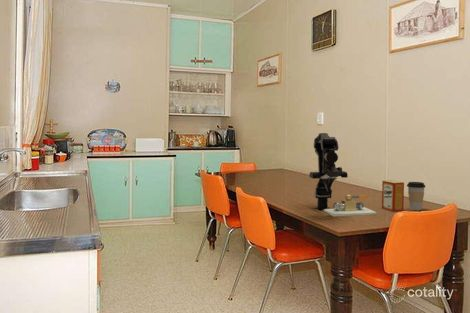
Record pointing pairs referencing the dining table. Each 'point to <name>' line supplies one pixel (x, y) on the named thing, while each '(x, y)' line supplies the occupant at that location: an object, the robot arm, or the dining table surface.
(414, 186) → the coffee cup
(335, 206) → the valve
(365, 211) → the board
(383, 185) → the baking soda box
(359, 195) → the lever
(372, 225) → the dining table surface
